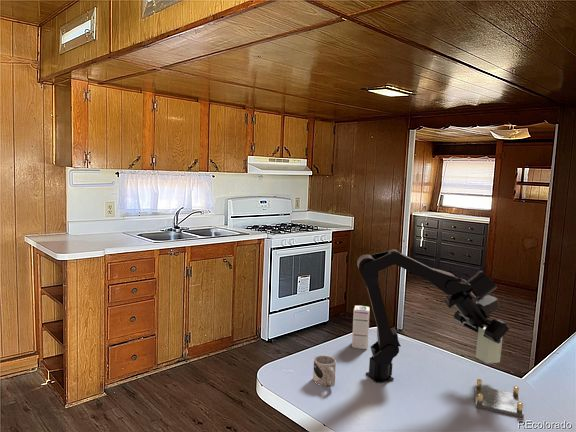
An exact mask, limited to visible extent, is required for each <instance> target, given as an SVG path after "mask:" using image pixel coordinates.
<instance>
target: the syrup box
mask: <svg viewBox="0 0 576 432" xmlns="http://www.w3.org/2000/svg"><path fill="white" fill-rule="evenodd" d="M352 318H353V319H352V338H351V339H352V341H351V347H352V348H354V349H360V350H368V346H369V333H370V331H369V330H370V306H368V305H367V306H366V305H354V308H353V316H352Z"/></svg>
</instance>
